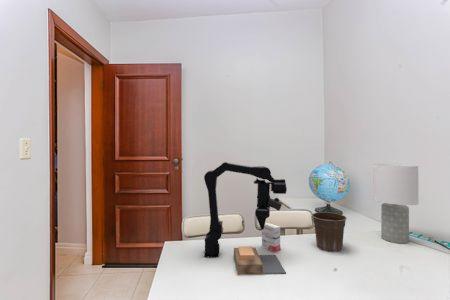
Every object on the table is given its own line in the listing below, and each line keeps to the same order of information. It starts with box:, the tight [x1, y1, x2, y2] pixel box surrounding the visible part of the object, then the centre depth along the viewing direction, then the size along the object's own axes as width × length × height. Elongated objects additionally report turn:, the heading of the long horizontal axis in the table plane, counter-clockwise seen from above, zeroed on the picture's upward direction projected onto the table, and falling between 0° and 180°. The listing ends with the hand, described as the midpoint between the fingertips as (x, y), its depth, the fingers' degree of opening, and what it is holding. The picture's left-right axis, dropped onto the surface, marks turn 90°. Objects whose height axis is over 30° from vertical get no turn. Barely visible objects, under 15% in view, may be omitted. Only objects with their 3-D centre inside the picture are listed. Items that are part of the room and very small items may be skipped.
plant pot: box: [311, 211, 347, 253], centre depth 124 cm, size 16×16×16 cm
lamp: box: [372, 163, 419, 245], centre depth 135 cm, size 21×21×42 cm
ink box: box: [261, 222, 281, 253], centre depth 122 cm, size 8×5×12 cm, turn 39°
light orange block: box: [237, 246, 255, 260], centre depth 105 cm, size 6×9×2 cm, turn 3°
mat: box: [258, 254, 287, 275], centre depth 105 cm, size 10×17×1 cm, turn 3°
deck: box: [233, 246, 264, 276], centre depth 105 cm, size 10×17×4 cm, turn 3°
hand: (262, 226), depth 114 cm, fingers open, 9 cm apart
